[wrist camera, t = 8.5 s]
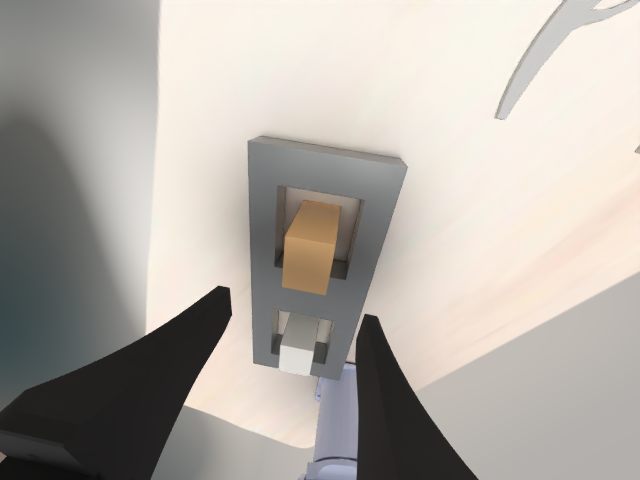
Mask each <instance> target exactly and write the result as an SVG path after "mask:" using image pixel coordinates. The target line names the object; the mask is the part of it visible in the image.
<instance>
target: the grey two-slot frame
mask: <svg viewBox="0 0 640 480" xmlns="http://www.w3.org/2000/svg"><path fill="white" fill-rule="evenodd" d="M407 168H408V167H407V165H406V164H405V163H404V162H403V161H402V160H401V159H399V158H393V157H387V156H381V155H375V154H368V153H362V152H356V151H350V150H344V149H338V148H332V147H325V146H319V145H313V144H307V143H301V142H295V141H289V140H282V139H276V138H270V137H264V136H260V137H257V138H254V139H251V140H248V176H249V214H250V253H251V291H252V329H253V363H254V364H259V365H264V366H269V367H274V368H279V358H280V345H281V341H282V338H283V335H278V334H277V331H278V314H279V310H280V311H285V312H290V313H296V314H301V315H306V316H311V317H316V318H321V319H326V320H332V321H333V322H332V326H331V331H330V335H329V339H328V343H327V344H323V343H318V342H315V348H314V354H313V359H312V364H311V370H310V375H313V376H318V377H323V378H328V379H332V380H337V381H339V380H340V377H341V374H342V371H343V368H344V364H345V361H346V358H347V355H348V352H349V349H350V346H351V343H352V340H353V336H354V333H355V330H356V327H357V324H358V321H359V318H360V315H361V312H362V308H363V305H364V302H365V299H366V296H367V293H368V290H369V287H370V284H371V280H372V277H373V274H374V271H375V268H376V265H377V262H378V259H379V256H380V252H381V249H382V246H383V243H384V240H385V237H386V234H387V231H388V228H389V224H390V221H391V218H392V215H393V212H394V209H395V206H396V203H397V200H398V196H399V193H400V190H401V187H402V184H403V181H404V178H405V175H406V172H407ZM286 187H292V188H298V189H304V190H309V191H315V192H321V193H327V194H333V195H339V196H344V197H350V198H356V199H362V200H361V204H360V208H359V213H358V217H357V221H356V225H355V230H354V234H353V238H352V242H351V246H350V251H349V255H348V259H347V262H341V261H336V260H333V262H332V267H331V272H330V277H329V282H328V287H327V292H326V295H321V294H316V293H310V292H305V291H300V290H295V289H289V288H284V287H282V277H283V262H284V251H282V246H283V229H284V211H285V194H286Z"/></svg>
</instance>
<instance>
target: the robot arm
mask: <svg viewBox="0 0 640 480" xmlns="http://www.w3.org/2000/svg"><path fill="white" fill-rule="evenodd" d="M231 316H232V309H231V298H230V288H228V287H223V286H217V287H216V288H215V289H213V290H212V291H210V292H209V293H208V294H206V295H205V296H204V297H202V298H201V299H200V300H198V301H197V302H196V303H194V304H193V305H192V306H190V307H189V308H187V309H186V310H185V311H183V312H182V313H180V314H179V315H177V316H176V317H174V318H173V319H171V320H170V321H168V322H167V323H165V324H164V325H162V326H161V327H159V328H157V329H156V330H154V331H153V332H151V333H149V334H148V335H146V336H144V337H142V338H141V339H139V340H137V341H135V342H133V343H132V344H130V345H128V346H126V347H124V348H122V349H120V350H118V351H116V352H114V353H112V354H110V355H108V356H106V357H104V358H102V359H100V360H97V361H95V362H93V363H91V364H89V365H86V366H84V367H82V368H79V369H77V370H75V371H73V372H70V373H68V374H65V375H63V376H60V377H58V378H55V379H53V380H50V381H48V382H45V383H42V384H40V385H37V386H35V387H32V388H30V389H27V390H25V391H24V392H23V393H22V394H21V395H20V396H18V397H17V398H16V399H15V400H14V401H12V402H11V403H10V404H9V405H8V406H7V407H5V408H4V409H3V410H2V411H1V412H0V452H2V453H3V454H5V455H6V456H7V457H6V458H5V459H4V460H3V461H2V462H1V463H0V480H150V479H151V477H152V474H153V472H154V469H155V467H156V465H157V462H158V460H159V457H160V455H161V453H162V450H163V448H164V446H165V443H166V441H167V439H168V437H169V434H170V432H171V430H172V428H173V426H174V423H175V421H176V419H177V417H178V415H179V413H180V411H181V409H182V406H183V404H184V402H185V400H186V398H187V396H188V394H189V392H190V390H191V388H192V386H193V384H194V382H195V380H196V378H197V377H198V375H199V373H200V371H201V370H202V368H203V367H204V365H205V363H206V362H207V360H208V358H209V357H210V355H211V353H212V352H213V350H214V348H215V347H216V345H217V343H218V342H219V340H220V338H221V337H222V335H223V333H224V331H225V329H226V327H227V325H228V323H229V320H230V318H231ZM355 361H356V365H353V364H348V363H345V364H344V368H343V371H342V374H341V377H340V380H339V381H337V380H332V379H328V378H323V377H320V378H319V382H318V386H317V390H316V395H315V400H316V401H320V406H319V415H318V424H317V432H316V441H315V450H314V458H313V462H308V466H307V473H306V474H301V475H300V477H299V478H298V480H478V478H477V477H476V476H475V475H474V474H473V472H472V471H471V470H470V469H469V468H468V466H467V465H466V464H465V463H464V462H463V460H462V459H461V458H460V457H459V455H458V454H457V453H456V452H455V450H454V449H453V448H452V446H451V445H450V444H449V442H448V441H447V440H446V438H445V437H444V436H443V434H442V433H441V431H440V430H439V429H438V427H437V426H436V425H435V423H434V422H433V421H432V419H431V418H430V416H429V415H428V413H427V412H426V410H425V409H424V407H423V406H422V404H421V403H420V401H419V400H418V398H417V396H416V395H415V393H414V391H413V390H412V388H411V386H410V385H409V383H408V381H407V379H406V378H405V376H404V374H403V372H402V370H401V368H400V367H399V365H398V363H397V361H396V359H395V357H394V354H393V352H392V350H391V348H390V346H389V344H388V342H387V339H386V337H385V335H384V332H383V330H382V327H381V325H380V322H379V319H378V317H377V316H373V315H368V314H365V315H364V318H363V321H362V324H361V327H360V330H359V333H358V336H357V339H356V358H355Z"/></svg>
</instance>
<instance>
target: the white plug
mask: <svg viewBox="0 0 640 480" xmlns="http://www.w3.org/2000/svg"><path fill="white" fill-rule="evenodd" d="M318 324H319V318H316V317H311V316H306V315H301V314H296V313H290V315H289V319H288V322H287V325H286V328H285V332H284V335H283V338H282V341H281V345H280V358H279V371H283V372H288V373H293V374H298V375H303V376H308V377H309V375H310V370H311V364H312V359H313V354H314V348H315V342H316V336H317V330H318Z"/></svg>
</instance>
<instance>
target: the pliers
mask: <svg viewBox="0 0 640 480" xmlns="http://www.w3.org/2000/svg"><path fill="white" fill-rule="evenodd" d="M600 1H601V0H564V1H563V2H562V3H561V5H560V6H559V7H558V8H557V10H556V11H555V12H554V13H553V14H552V16H551V17H550V18H549V20H548V21H547V22H546V24H545V25H544V26H543V28H542V29H541V30H540V32H539V33H538V34H537V36H536V37H535V38H534V40H533V42H532V43H531V45H530V46H529V48H528V49H527V51H526V53H525V54H524V56H523V57H522V59H521V61H520V62H519V64H518V66H517V68H516V70H515V71H514V73H513V75H512V77H511V79H510V81H509V83H508V85H507V87H506V90H505V92H504V94H503V97H502V99H501V101H500V104H499V107H498V109H497V112H496V115H495V117H494V118H497V119H501V120H505V119H506V118H507V116H508V115H509V113H510V111H511V110H512V108H513V107H514V105H515V104H516V102H517V101H518V99H519V98H520V97H521V95H522V94H523V92H524V91H525V89H526V88H527V87H528V85H529V84H530V82H531V81H532V80H533V78H534V77H535V75H536V74H537V73H538V71H539V70H540V68H541V67H542V66H543V65H544V63H545V62H546V61H547V60H548V59H549V57H550V56H551V55H552V54H553V52H554V51H555V50H556V49H557V48H558V46H559V45H560V44H561V43H562V42H563V41H564V39H565V38H566V37H567V36H568V35H569V34H570V32H571V31H573V30H575V29H577V28H579V27H581V26H583V25H586V24H590V23H594V22H598V21H602V20H605V19H607V18H610V17H612V16H614V15H616V14H618V13H620V12H623V11H625V10H627V9H629V8H631V7H633V6H634V5H636V4H637V3H639V2H640V0H628V1H626V2H625V3H623V4H620V5H618V6H616V7H613V8H611V9H604V10H592V9H593V8H594V7H595V6H596V5H597V4H598V3H599V2H600ZM635 152H636V153H640V146H639V147H638V148H637V149H636V151H635Z"/></svg>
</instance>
